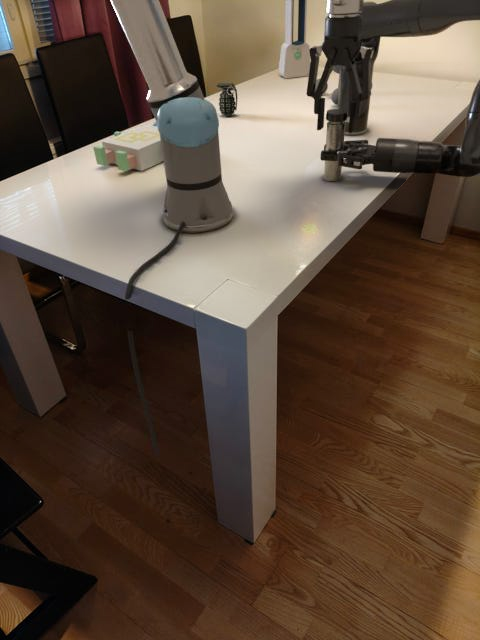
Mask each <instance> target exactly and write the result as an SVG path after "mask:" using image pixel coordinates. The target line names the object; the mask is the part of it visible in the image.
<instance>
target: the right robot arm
mask: <svg viewBox="0 0 480 640" xmlns="http://www.w3.org/2000/svg"><path fill="white" fill-rule="evenodd" d="M360 15H361V17H362V25H361V36H360V40H361V43H362V46H364V47H368V48H370V47H373V48H374V53H373V56H372V59H371V86H372V87H373V76H374V65H375V62H376V60H377V58H378V55H379V51H380V44H381V43H380V42H381V39H382V38H416V37H417V38H418V37H428V36H434V35H438V34H441V33H443V32H445V31H447V30H448V29H449V28H451V27H452V26H454V25H456V24H459V23H463V22H471V21H480V0H387V1H384V2H381V3H376V2H375V1H364V3H363V11H362V12H361V13H360ZM361 55H362V54H361V52H359V53H358V55H357V56H356V57H355V63H356V70H357V75H358V79H359V83H360V87H361V92H362V94H363V60H364V59H363V58H362V57H361ZM353 100H354V96H353V92H352V88H351V84H350V80H349V75H348V71H347V70H346V66H341V70H340V85H339V99H338V105H337V109H345V110H347V111H348V112H347V113H348V116H347V120H346V121H345V134H344V136H357V135H363V134H365V133H366V132H367V131H368V122H369V113H370V106H371V105H370V103H371V96H370V97H369V98H368V99H367V100H363V101H362V103H361V113H360V115H359V116H358V117H356V119H355V130H354V131H353V132H352V133H348V130H349V119H350V107H351V102H352V101H353ZM464 128H465V129H464V131H463V135H462V137H461V138H462V139H461V142H460V145H459V144H458V145H457V144H456V145H455V144H444V143H442V142H439V141H430V140H415V139H408V138H391V137H390V138H387V137H378V138H377V139H376V142H375V145H374V144H369V140H368V139H359V140H344V146H343V151H326V143H325V144H324V146H323V150H321V151H320V159H319V160H321V161H324V162H325V161H336V163H338V166H342V168H348V169H355V170H362V169H363V166H365V165H372V170H373V172H376V173H377V172H379V173H391V174H392V173H394V174H410V173H411V174H412V173H413V174H427V175H428V174H439V175H445V176H453V177H461V178H471V177H472V178H473V177H474V176H478V175H479V174H480V78H479V79H478V81H477V83H476V85H475V87H474V88H473V92H472V95H471V98H470V101H469V105H468V109H467V113H466V116H465V121H464Z"/></svg>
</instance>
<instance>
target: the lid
mask: <svg viewBox="0 0 480 640" xmlns="http://www.w3.org/2000/svg"><path fill="white" fill-rule="evenodd" d="M347 112H348V111H347V110H345V109H338V108H329V109H327V110H326V113H325V120H326V121H327V122H328V121H330V122H343V121H346V120H347V116H348V113H347Z"/></svg>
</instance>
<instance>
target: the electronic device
mask: <svg viewBox="0 0 480 640" xmlns="http://www.w3.org/2000/svg"><path fill="white" fill-rule="evenodd" d="M297 4H298V6H297V7H298V8H297V12H298V13H297V40H294V13H295V12H294V5H295V0H285V15H284V16H285V18H284V19H285V25H284V26H285V29H284V32H285V36H284V37H285V38H284V42H283V43H282V45H281V46H280V55H279V63H278V73H279V75H280V76H281V77H283V78H285V79H292V78H301V77H309V70H310V63H311V58H310V52H309V50H310V48H311V47H310V45H309V44H308V43H307V14H308V13H307V11H308V10H307V9H308V0H298V3H297Z"/></svg>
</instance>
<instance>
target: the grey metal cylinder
mask: <svg viewBox="0 0 480 640" xmlns="http://www.w3.org/2000/svg"><path fill="white" fill-rule="evenodd" d="M344 141H345V121H343V122H330V121H327V122H326V137H325V144H326V151H343V146H344ZM342 170H343V166H338V163H336V161H324V170H323V171H324V172H323V180H325V181H327V182H338V181H341V180H342V172H343V171H342Z"/></svg>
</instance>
